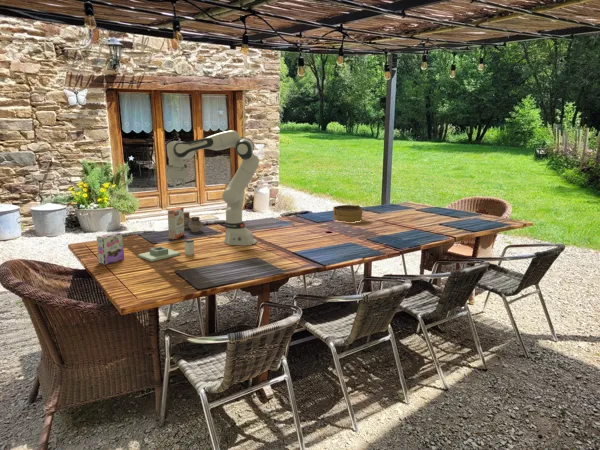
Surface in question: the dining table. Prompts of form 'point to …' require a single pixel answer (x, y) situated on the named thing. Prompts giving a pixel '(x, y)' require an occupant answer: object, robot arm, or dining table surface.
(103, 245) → the candy box
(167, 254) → the holder plate
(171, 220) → the cracker box
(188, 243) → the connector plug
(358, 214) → the steamer basket
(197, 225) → the pottery
